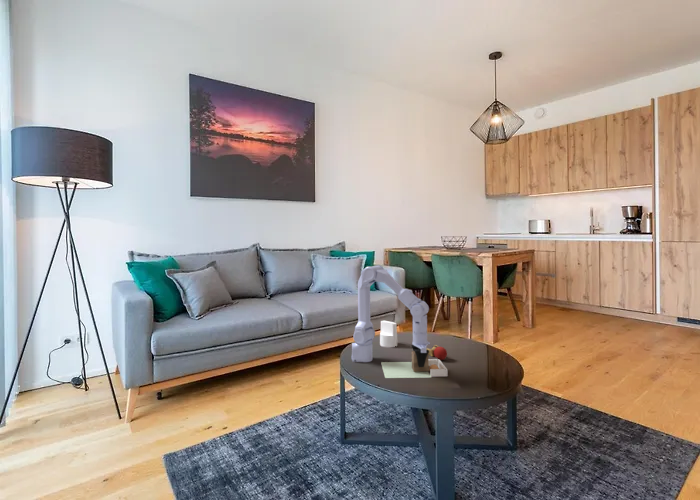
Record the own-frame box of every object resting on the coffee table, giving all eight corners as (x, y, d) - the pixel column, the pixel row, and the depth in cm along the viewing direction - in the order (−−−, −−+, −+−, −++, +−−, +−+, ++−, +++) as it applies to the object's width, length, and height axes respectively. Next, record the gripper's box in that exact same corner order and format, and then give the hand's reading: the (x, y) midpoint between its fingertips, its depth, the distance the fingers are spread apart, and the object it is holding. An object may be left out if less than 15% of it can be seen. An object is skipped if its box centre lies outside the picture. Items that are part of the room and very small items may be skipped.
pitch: (385, 381, 131) (385, 371, 131) (380, 365, 148) (380, 356, 148) (448, 381, 131) (448, 370, 131) (436, 365, 148) (436, 356, 148)
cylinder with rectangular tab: (376, 344, 178) (376, 322, 178) (387, 341, 184) (387, 319, 184) (389, 348, 171) (389, 325, 171) (400, 344, 178) (400, 322, 177)
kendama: (409, 356, 163) (440, 361, 149) (409, 343, 165) (440, 346, 151) (420, 356, 168) (450, 360, 154) (420, 342, 169) (450, 346, 155)
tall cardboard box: (413, 371, 136) (413, 354, 136) (411, 367, 140) (411, 351, 140) (428, 371, 136) (428, 354, 136) (426, 367, 140) (426, 350, 140)
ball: (428, 374, 136) (432, 365, 136) (426, 370, 140) (429, 361, 140) (438, 377, 136) (441, 368, 136) (435, 373, 140) (438, 364, 140)
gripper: (434, 336, 130) (434, 371, 131) (425, 327, 145) (425, 358, 145) (415, 336, 130) (416, 371, 131) (409, 327, 145) (409, 358, 145)
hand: (419, 364), depth 138 cm, fingers closed on tall cardboard box, 4 cm apart
